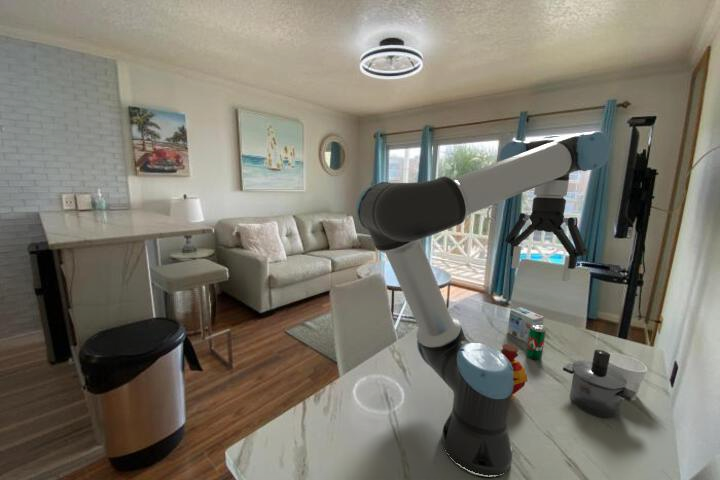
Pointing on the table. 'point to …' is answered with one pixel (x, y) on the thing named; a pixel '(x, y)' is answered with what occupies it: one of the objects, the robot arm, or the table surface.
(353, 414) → the table surface
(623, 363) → the cup
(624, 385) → the lid
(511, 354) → the potion bottle
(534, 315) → the light bulb box
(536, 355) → the soda can
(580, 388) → the pot
